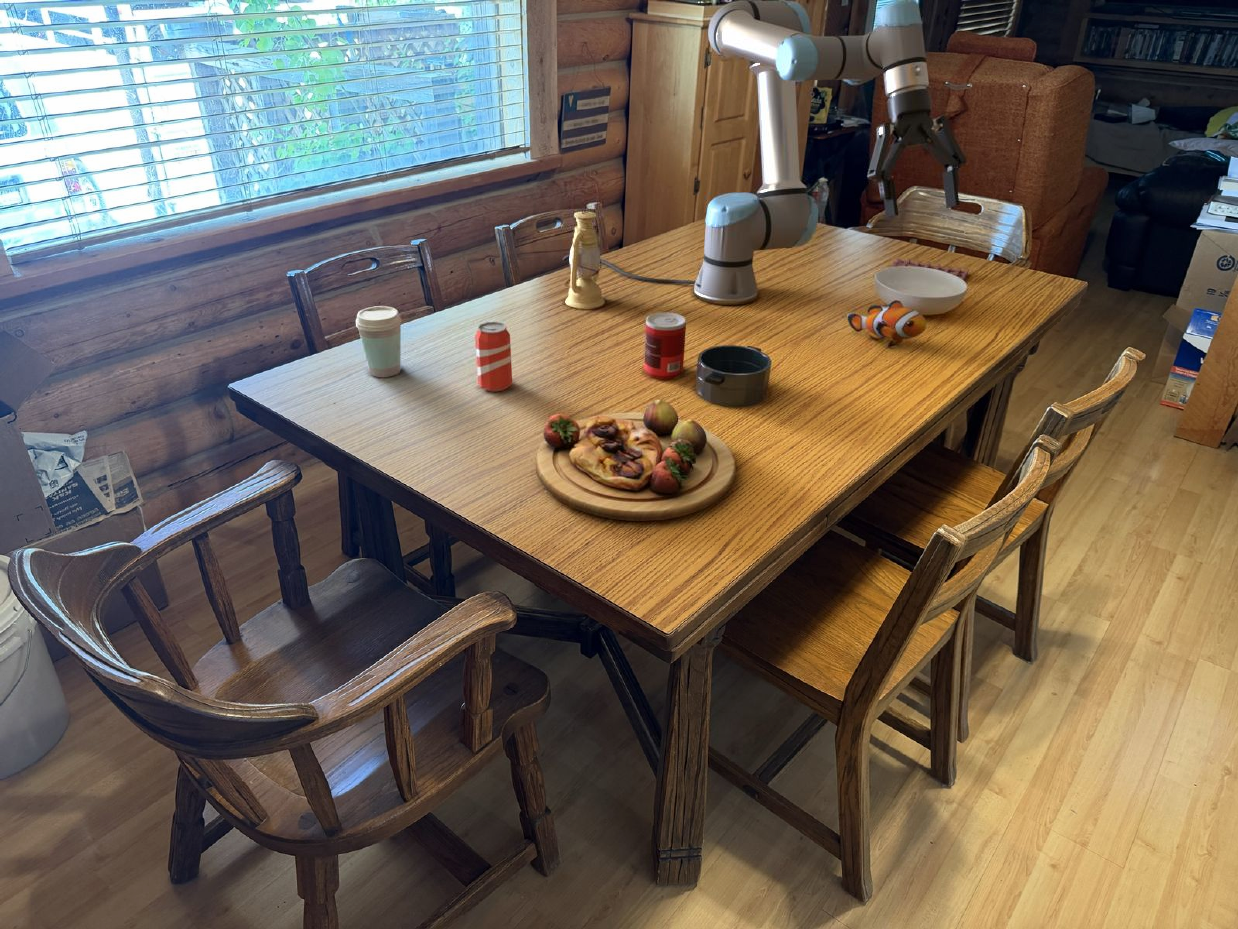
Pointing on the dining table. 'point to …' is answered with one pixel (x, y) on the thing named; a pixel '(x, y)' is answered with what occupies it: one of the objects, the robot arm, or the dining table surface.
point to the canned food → (664, 345)
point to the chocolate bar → (932, 267)
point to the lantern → (584, 262)
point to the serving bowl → (920, 288)
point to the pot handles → (719, 379)
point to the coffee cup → (381, 339)
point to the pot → (734, 375)
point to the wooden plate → (634, 464)
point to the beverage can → (493, 356)
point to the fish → (889, 322)
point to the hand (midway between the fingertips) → (923, 211)
